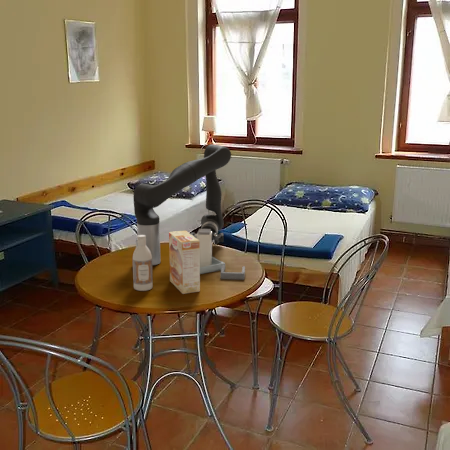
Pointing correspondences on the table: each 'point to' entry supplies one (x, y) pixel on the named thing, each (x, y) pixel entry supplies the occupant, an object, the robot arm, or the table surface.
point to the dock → (232, 274)
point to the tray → (212, 266)
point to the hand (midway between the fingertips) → (205, 241)
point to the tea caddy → (205, 246)
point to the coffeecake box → (184, 261)
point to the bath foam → (142, 266)
